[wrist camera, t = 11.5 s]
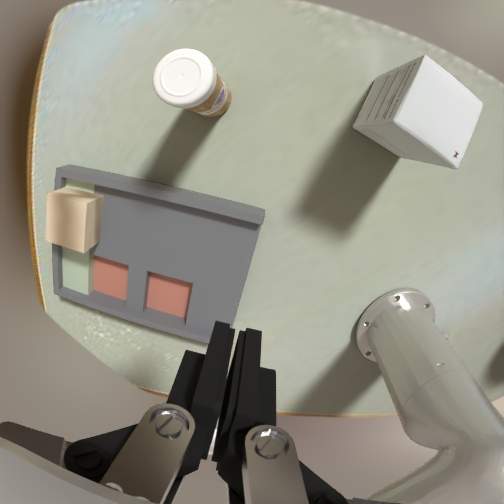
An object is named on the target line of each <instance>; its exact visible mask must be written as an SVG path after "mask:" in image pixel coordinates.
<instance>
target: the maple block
mask: <svg viewBox="0 0 504 504" xmlns="http://www.w3.org/2000/svg"><path fill="white" fill-rule="evenodd" d="M103 198H104V196H103V195H98V194H94V193H90V192H86V191H81V190H77V189H73V188H68V187H64V188H61V189H58V190H55V191H52V192H49V193H47V207H46V241H48V242H51V243H54V244H57V245H60V246H63V247H66V248H69V249H72V250H75V251H78V252H82V253H85V252H86V251H88V250H89V249H90V248H92V247H93V246H94V245H96V244H97V243H98V242H99V240H100V227H101V216H102V206H103Z"/></svg>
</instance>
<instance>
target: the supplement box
mask: <svg viewBox="0 0 504 504" xmlns="http://www.w3.org/2000/svg"><path fill="white" fill-rule="evenodd" d="M482 106H483V103H482V102H481V101H480V100H479V99H477V98H476V97H475V96H474V95H473V94H472V93H471V92H470V91H469V90H468V89H467V88H465V87H464V86H463V85H462V84H461V83H460V82H459V81H457V80H456V79H455V78H454V77H453V76H452V75H450V74H449V73H448V72H447V71H445V70H444V69H443V68H442V67H440V66H439V65H438V64H437V63H435V62H434V61H433V60H431V59H430V58H429V57H428V56H426V55H423V56H421V57H419V58H417V59H414V60H412V61H410V62H408V63H406V64H404V65H402V66H400V67H397V68H395V69H393V70H391V71H389V72H387V73H385V74H383V75H381V76H379V77H377V78H376V79H375V81H374V83H373V85H372V88H371V90H370V92H369V94H368V96H367V98H366V100H365V102H364V104H363V106H362V108H361V110H360V112H359V114H358V116H357V118H356V120H355V122H354V124H353V126H352V127H353V128H354V129H355V130H357V131H359V132H360V133H362V134H363V135H365V136H367V137H368V138H370V139H372V140H373V141H375V142H376V143H378V144H380V145H381V146H383V147H384V148H386V149H388V150H389V151H391V152H392V153H394V154H395V155H397V156H398V157H400V158H405V159H411V160H416V161H421V162H425V163H430V164H435V165H439V166H444V167H448V168H452V169H457V168H458V166H459V164H460V161H461V159H462V157H463V155H464V153H465V150H466V148H467V145H468V143H469V141H470V138H471V136H472V133H473V131H474V128H475V126H476V123H477V120H478V118H479V115H480V112H481V109H482Z"/></svg>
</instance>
